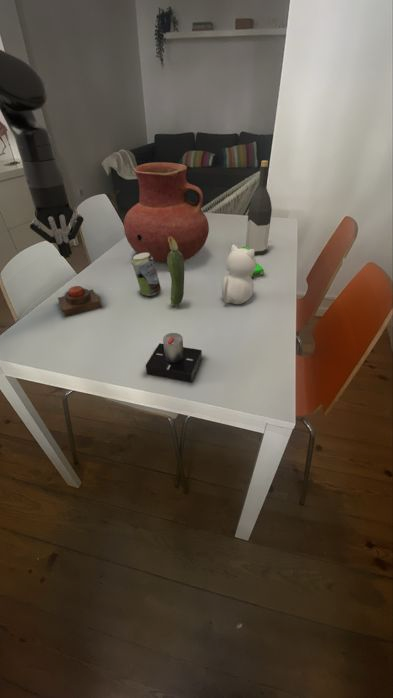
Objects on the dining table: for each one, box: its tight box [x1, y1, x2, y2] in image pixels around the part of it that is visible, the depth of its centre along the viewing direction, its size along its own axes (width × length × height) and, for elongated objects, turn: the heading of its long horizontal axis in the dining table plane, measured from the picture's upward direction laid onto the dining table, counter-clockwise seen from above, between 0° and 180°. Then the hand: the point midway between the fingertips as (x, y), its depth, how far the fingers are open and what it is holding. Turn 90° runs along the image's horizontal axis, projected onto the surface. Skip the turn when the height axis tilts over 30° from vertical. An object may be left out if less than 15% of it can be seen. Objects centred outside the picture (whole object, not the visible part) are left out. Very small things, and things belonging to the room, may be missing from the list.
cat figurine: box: [221, 243, 257, 305], centre depth 87 cm, size 9×12×15 cm
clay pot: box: [123, 161, 210, 264], centre depth 109 cm, size 30×29×30 cm
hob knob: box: [162, 332, 184, 363], centre depth 66 cm, size 4×4×5 cm
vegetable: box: [166, 237, 185, 308], centre depth 83 cm, size 4×4×20 cm
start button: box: [68, 285, 84, 297], centre depth 88 cm, size 4×4×2 cm
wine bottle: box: [245, 160, 273, 256], centre depth 112 cm, size 8×8×30 cm
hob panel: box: [145, 342, 203, 383], centre depth 69 cm, size 10×8×3 cm
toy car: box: [237, 246, 265, 278], centre depth 105 cm, size 11×7×7 cm, turn 28°
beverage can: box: [131, 253, 162, 297], centre depth 93 cm, size 6×7×12 cm
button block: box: [57, 287, 102, 318], centre depth 90 cm, size 10×8×4 cm
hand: (66, 256), depth 82 cm, fingers closed
